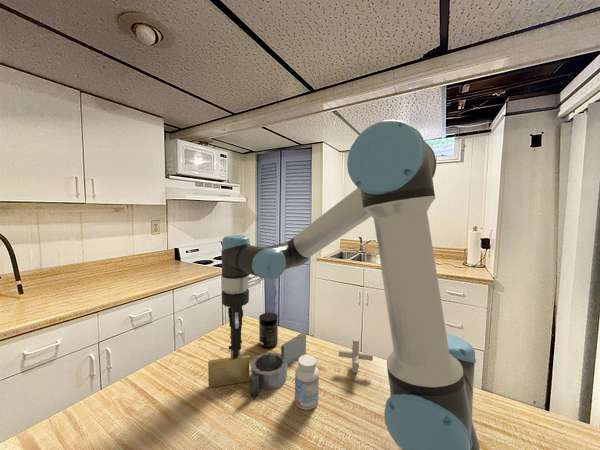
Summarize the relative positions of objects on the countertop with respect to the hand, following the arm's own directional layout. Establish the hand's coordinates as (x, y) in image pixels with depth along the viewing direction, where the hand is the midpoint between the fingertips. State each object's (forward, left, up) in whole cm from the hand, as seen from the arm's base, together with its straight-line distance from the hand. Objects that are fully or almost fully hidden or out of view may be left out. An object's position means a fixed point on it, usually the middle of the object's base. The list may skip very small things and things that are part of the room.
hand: (235, 367), depth 73 cm
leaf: (-1, +3, -3) cm, 4 cm away
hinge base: (-8, -10, -3) cm, 13 cm away
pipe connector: (-26, -25, -3) cm, 36 cm away
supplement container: (+5, -18, -3) cm, 19 cm away
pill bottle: (-22, -6, -3) cm, 23 cm away
